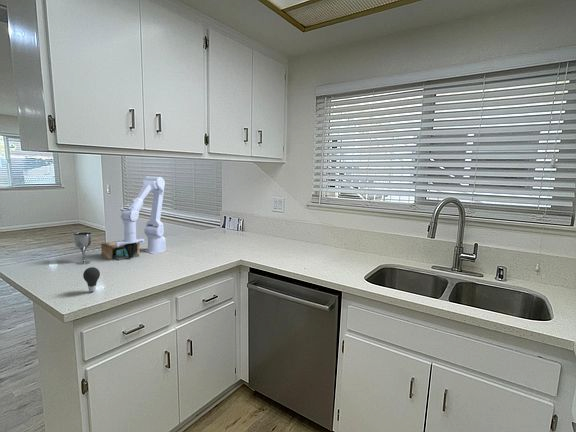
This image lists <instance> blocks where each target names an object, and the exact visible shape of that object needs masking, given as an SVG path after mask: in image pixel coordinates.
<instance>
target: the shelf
mask: <svg viewBox="0 0 576 432" xmlns="http://www.w3.org/2000/svg"><path fill="white" fill-rule="evenodd" d="M120 241H124V239H123V240H117V241H111V242H110V241H109V242H101V245H100V248H101V257H104V258H106V259H108V260H113V259H114V258H112V253H116V249H123V248H125V247H124V245H122V246H118V247H117V246H116V242H120ZM136 244H137V247H136V249H135V251H134V253H137V254H139V255H140V253H141V251H140V243H136Z"/></svg>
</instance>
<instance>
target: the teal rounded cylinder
mask: <svg viewBox="0 0 576 432" xmlns="http://www.w3.org/2000/svg"><path fill="white" fill-rule="evenodd" d="M125 256H128V253H127V251H126V249H125V248H123V257H125Z"/></svg>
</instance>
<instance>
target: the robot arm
mask: <svg viewBox="0 0 576 432" xmlns="http://www.w3.org/2000/svg"><path fill="white" fill-rule="evenodd" d="M165 184H166V182H165V179H164V178H163V177H162V176H151V175H147V176H145V177H144V179H143V180H142V187H141V188H140V191H139V192H138V194H137V196H136V197H135V198H132V200H131V202H130V203H129V205H128V207H127V208H126V209H125V210H123V211H122V212H121V215H120V218H121V220H122V223H123V237H124V238H123V240H124V241H122V240H119V241H120V242H116V246H117V247H118V246H122V245H124V247H125V249H126V251H127V253H128V257H129V259H133V258H132V257H133V255H134V251H135V249H136V247H137V244H136V243H139V244H140V243H142V244H143V243H145V238H137V221H138V219H139V217H140V216H139V214H140V211H141V209H142V208H143V207H144V200H145V199H146V198H147V195H148V194H149V193H150V192H152V193H153V196H152V205H151V212H150V219H149V220H148V221H147V222H146V224H145V227H144V230H143V232H144V235H146V237H147V249H145V250H144V252H147V253H148V254H151V255H153V254H157V253H162V252H166V251H167V244H166V243H167V241H166V237H165V236H164V234H165V229H164V223H163V222H162V221H161V219H162V218H161V216H162V210H163V202H164V196H165V195H164V193H165V186H166V185H165Z"/></svg>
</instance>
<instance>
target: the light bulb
mask: <svg viewBox="0 0 576 432" xmlns="http://www.w3.org/2000/svg"><path fill="white" fill-rule="evenodd" d="M100 276H101V271H100V270H99V269H98V268H97V267H94V266H91V267H90V266H89V267H88V268H86V269H85V270H84V272H83V274H82V278H83V279H84V281H85V282H86V284H87V286H88V291H89V292H90V293H95V291H96V290H97V283H98V280H99V278H100Z"/></svg>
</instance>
